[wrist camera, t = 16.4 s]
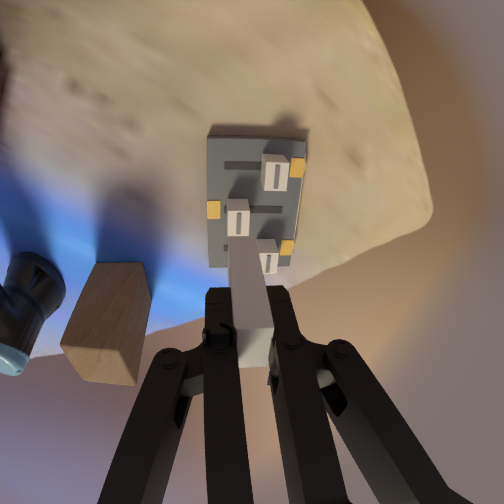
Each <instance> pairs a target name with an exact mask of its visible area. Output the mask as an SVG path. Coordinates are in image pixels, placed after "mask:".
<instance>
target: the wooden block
mask: <svg viewBox="0 0 504 504" xmlns="http://www.w3.org/2000/svg"><path fill="white" fill-rule="evenodd" d="M151 303H152V299H151V295H150V291H149V287H148V283H147V278H146V274H145V270H144V265H143V263H142V262H116V263H96V264H95V265H94V267H93V269H92V271H91V273H90V275H89V277H88V280H87V282H86V284H85V286H84V288H83V290H82V292H81V294H80V297H79V299H78V301H77V303H76V305H75V308H74V310H73V312H72V315H71V317H70V319H69V322H68V324H67V327H66V329H65V332H64V334H63V337H62V339H61V342H60V347H61V348H62V350H63V351H64V353H65V354H66V356H67V357H68V359H69V360H70V361H71V363H72V365H73V366H74V367H75V369H76V370H77V372H78V373H79V375H80V376H81V377H82V379H83V380H85V381H93V382H100V383H110V384H119V385H131V386H135V385H136V384H137V379H138V372H139V366H140V360H141V354H142V348H143V343H144V338H145V332H146V327H147V322H148V317H149V312H150V308H151Z"/></svg>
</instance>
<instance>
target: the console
mask: <svg viewBox="0 0 504 504" xmlns="http://www.w3.org/2000/svg"><path fill="white" fill-rule="evenodd" d="M305 150H306V141H304V140H303V139H295V138H280V137H260V136H207V220H208V253H209V268H215V267H228V237H256V239H275V242H276V245H277V248H278V251H279V257H278V264H277V266H289V264H290V258H291V256H292V251H294V245H295V242H294V237H295V231H296V224H297V217H298V210H299V203H300V196H301V189H302V181H303V173H305V168H306V162H305V158H306V155H305ZM262 154H279V155H284V156H285V158H286V159H287V160H288V162H289V172H288V181H287V190H286V191H264V189H263V186H262V183H261V181H260V178H261V164H262ZM227 199H248V203H249V208H250V221H249V236H228V234H227Z"/></svg>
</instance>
